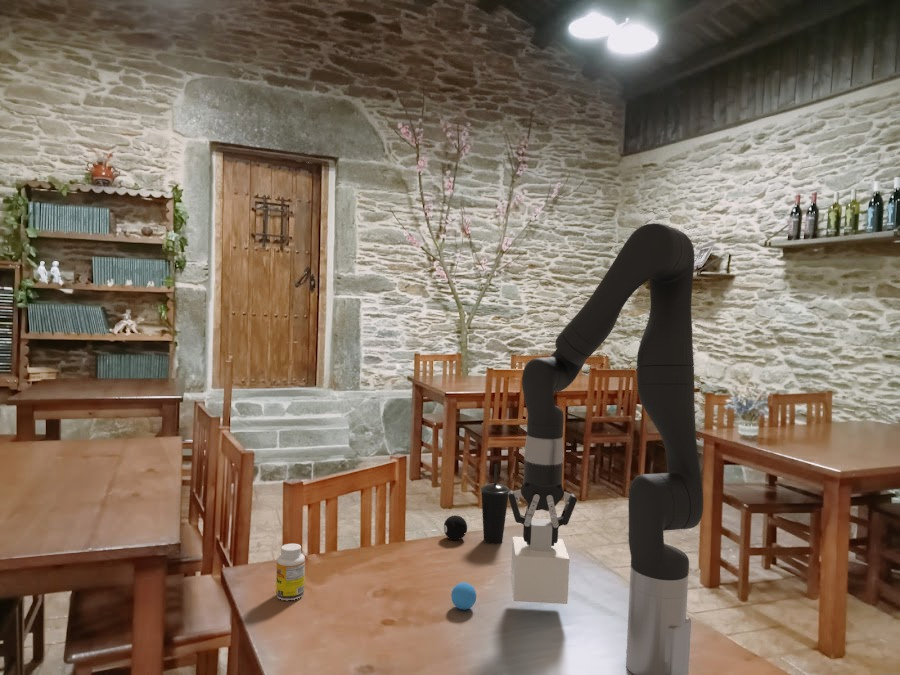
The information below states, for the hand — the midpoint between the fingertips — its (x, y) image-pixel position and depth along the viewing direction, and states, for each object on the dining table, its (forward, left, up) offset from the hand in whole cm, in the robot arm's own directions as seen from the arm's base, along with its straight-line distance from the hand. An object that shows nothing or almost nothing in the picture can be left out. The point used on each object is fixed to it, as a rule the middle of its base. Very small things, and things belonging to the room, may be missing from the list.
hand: (539, 543), depth 126 cm
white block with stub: (0, 0, -10) cm, 10 cm away
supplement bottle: (+36, +35, -14) cm, 52 cm away
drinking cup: (+32, -21, -14) cm, 41 cm away
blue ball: (+10, +11, -11) cm, 18 cm away
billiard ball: (+39, -14, -14) cm, 44 cm away
